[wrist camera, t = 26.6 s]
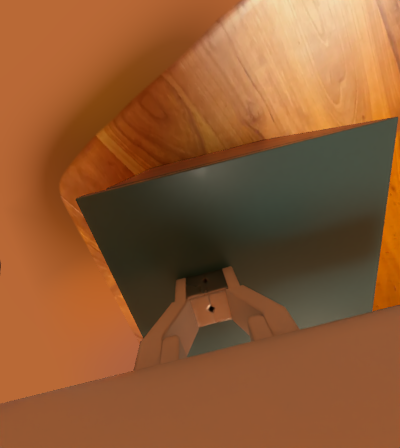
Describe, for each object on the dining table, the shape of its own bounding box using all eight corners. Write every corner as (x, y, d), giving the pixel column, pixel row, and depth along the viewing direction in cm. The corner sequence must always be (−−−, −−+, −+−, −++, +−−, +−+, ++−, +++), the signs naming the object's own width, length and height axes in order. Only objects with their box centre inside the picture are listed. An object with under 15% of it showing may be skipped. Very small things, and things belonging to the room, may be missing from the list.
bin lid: (160, 359, 13) (159, 372, 12) (83, 195, 9) (74, 199, 8) (361, 303, 13) (372, 312, 12) (380, 119, 9) (399, 116, 8)
